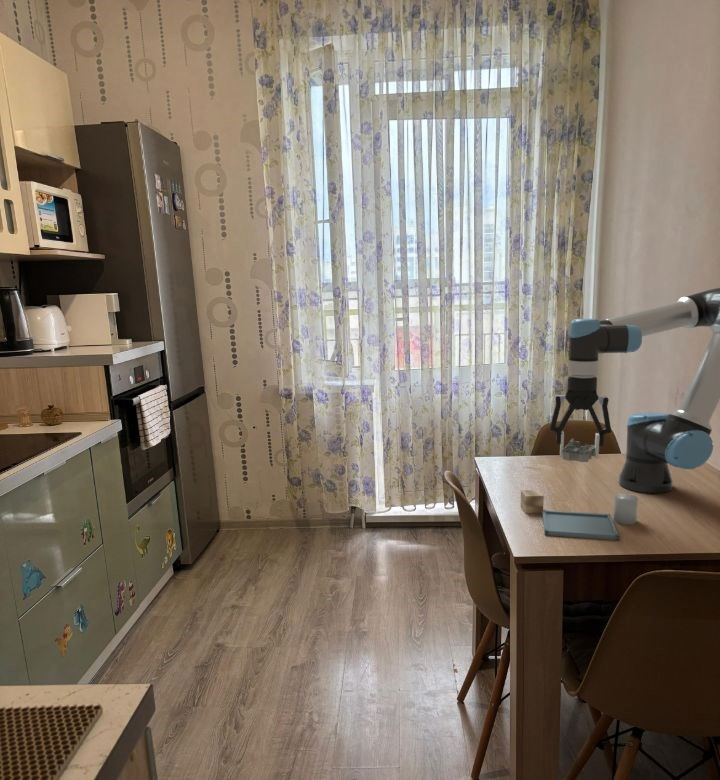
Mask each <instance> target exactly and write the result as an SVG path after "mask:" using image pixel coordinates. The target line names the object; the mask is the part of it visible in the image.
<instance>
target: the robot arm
mask: <svg viewBox="0 0 720 780" xmlns="http://www.w3.org/2000/svg"><path fill="white" fill-rule="evenodd" d="M569 326H570V327H569V334H568V338H569V339H568V363H567V365H568V366H567V371H568V372H567V373H568V375H569V376H568V377H567V389H566V393H565V394H561V395H560V394H556V395H555V396H554V398H555V399H554V400H555V405H554V410H553V412H552V413H553V414H552V416H551V421H550V425H549V429H550V430H551V431H552V432H555V433H556V439H555V441H556V444H557V445H559V455H560V457H562V458H563V452H562V450H563V449H564V448H565V445H564V444H565V433H564V428H565V427H566V425H567V423H568V421H569V419H570V418H571V416H572V414H573V412H574V410H575V411H576V410H577V411H578V410H579V411H580V410H584V411H589V414H590V416H591V418H592V421H593V423H594V424H595V427H596V429H597V432H595V438H594V445H595V455H594V456H593V457H594V458H595V459H599V455H600V454H599V453H600V447H603V446H604V437H605V435H606V434H611V432H612V426H611V420H610V415H609V409H608V406H609V405H608V404H609V400H610V399H609V398H608V396H606V395H604V396H603V395H602V396H601V395H598V392H597V390H598V388H597V387H598V377H596V376H597V375H598V367H599V366H598V365H599V354H617V353H618V354H623V353H624V354H627V353H634V352H636V351H638V350H639V349H640V347H641V345H642V343H643V337H646V336H650V335H653V334H654V335H655V334H658V333H661V332H665V331H666V332H667V331H670V330H674V329H679V328H682V327H683V328H685V329H692V328H698V327H709V329H710V330H711V332H712V336H711V338H710V340H709V342H708V345H707V346H706V348H705V351H704V353H703V355H702V357H701V359H700V362H699V363H698V366H697V367H696V370H695V371H694V374H693V376H692V378H691V380H690V383H689V385H688V386H687V388H686V391H685V393H684V396H683V398H682V399H681V402H680V404H679V406H678V408H677V410H675V411H673V412H669V413H663V412H662V413H661V412H642V413H639V412H638V413H633V414H630V415H629V417H628V418H627V419H628V420H627V425H626V428H627V429H626V432H627V433H626V451H625V452H626V453H625V454H626V457H625V461H624V464H623V466H622V469H621V471H620V473H619V477H618V484H619V486H621V487H622V488H624V489H627V490H630V491H634V492H638V493H645V494H661V493H662V494H663V493H664V494H665V493H667V492H670V491H672V490H673V483H674V482H673V478H672V475H671V472H670V468H669V465H670V466H672V467H674V468H680V469H682V470H694V469H696V468H699V467H701V466H702V465H704V464H705V463H707V461H708V460H709V459H710V458H711V457H712V453H713V450H714V445H713V439H712V438H711V436H710V434H711V433H712V430H713V429H712V426H711V425H710V420H711V419H712V416H713V415H714V413H715V410H716V408H717V406H718V404H719V403H720V287H716V288H712V289H708V290H705V291H701V292H696V293H694V294H690V295H686V296H683V297H682V296H681V297H680V298H679V299H678V300H677V301H676V302H671V303H668V304H664V305H660V306H655V307H652V308H647V309H643V310H639V311H636V312H632V313H627V314H623V315H618V316H615V317H610V318H605V319H603V320H599V319H598V318H575V319H573V320H571V322H570V325H569ZM565 400H566V401H567V402H568V404H569V405H568V407H567V409H566V411H565V413H564V414H563V416H562V418H561V420H560V422H559V423H558V426H557V421H558V419H559V415H560V411H561V406H562V405H561V404H563V403H564V401H565ZM597 401H598V403H599V405H601V410H602V411H601V412H602V416H603V423H604V428H603V427H602V425H601V422H600V421H599V418H598V416H597V414H596V411H595V409H594V404H595V403H596V402H597Z"/></svg>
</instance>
